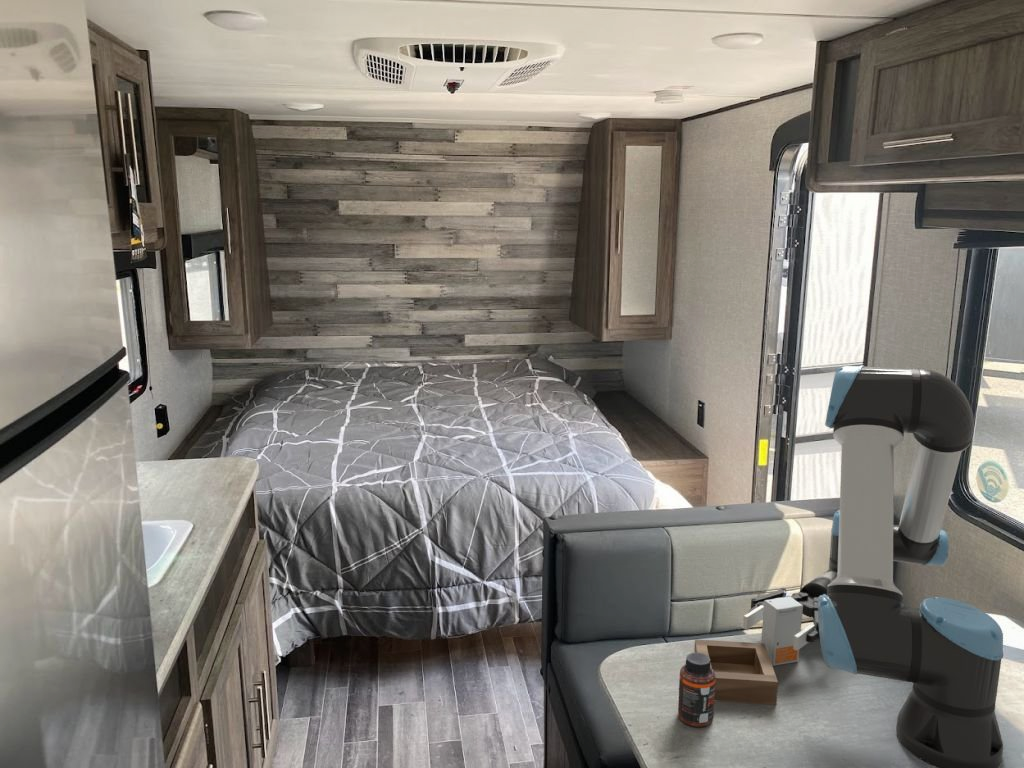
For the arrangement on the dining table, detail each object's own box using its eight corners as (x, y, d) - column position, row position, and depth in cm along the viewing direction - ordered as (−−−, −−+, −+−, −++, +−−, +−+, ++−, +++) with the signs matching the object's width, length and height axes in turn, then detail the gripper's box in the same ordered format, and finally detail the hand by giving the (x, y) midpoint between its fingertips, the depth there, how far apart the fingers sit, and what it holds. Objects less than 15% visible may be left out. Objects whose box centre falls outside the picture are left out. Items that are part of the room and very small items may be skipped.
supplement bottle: (714, 731, 131) (717, 669, 129) (677, 726, 133) (680, 665, 130) (712, 709, 137) (715, 650, 135) (677, 705, 138) (680, 647, 136)
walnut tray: (776, 704, 138) (777, 681, 138) (701, 699, 140) (702, 676, 139) (762, 664, 151) (764, 643, 150) (694, 660, 153) (694, 639, 152)
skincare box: (772, 667, 150) (776, 609, 148) (759, 656, 154) (763, 599, 152) (799, 662, 152) (803, 605, 149) (786, 651, 156) (790, 595, 153)
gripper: (878, 631, 156) (825, 674, 141) (774, 594, 172) (717, 629, 158) (881, 596, 155) (828, 636, 140) (776, 562, 171) (719, 594, 156)
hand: (769, 632), depth 149 cm, fingers open, 10 cm apart
